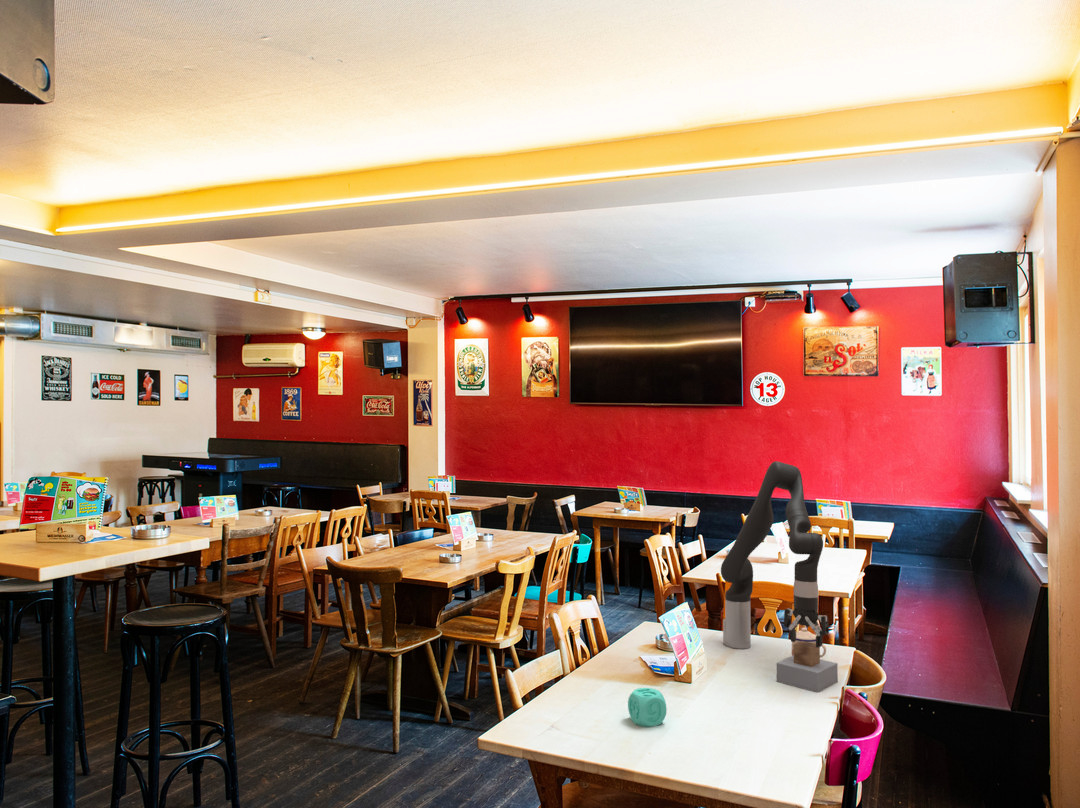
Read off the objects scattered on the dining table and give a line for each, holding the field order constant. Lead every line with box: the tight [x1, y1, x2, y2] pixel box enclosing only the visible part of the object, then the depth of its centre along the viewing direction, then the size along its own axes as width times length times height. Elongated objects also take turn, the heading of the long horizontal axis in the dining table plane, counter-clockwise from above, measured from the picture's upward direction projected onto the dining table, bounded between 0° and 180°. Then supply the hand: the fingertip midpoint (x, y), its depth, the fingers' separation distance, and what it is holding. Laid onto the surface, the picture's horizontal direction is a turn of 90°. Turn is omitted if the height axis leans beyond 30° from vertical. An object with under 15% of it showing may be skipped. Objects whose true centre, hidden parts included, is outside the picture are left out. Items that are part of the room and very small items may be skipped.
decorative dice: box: [627, 687, 668, 728], centre depth 206 cm, size 8×8×8 cm
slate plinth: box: [775, 655, 839, 693], centre depth 240 cm, size 14×14×6 cm
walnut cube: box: [794, 641, 821, 667], centre depth 240 cm, size 6×6×6 cm
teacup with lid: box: [791, 627, 827, 659], centre depth 260 cm, size 12×9×12 cm
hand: (805, 644), depth 240 cm, fingers open, 8 cm apart
